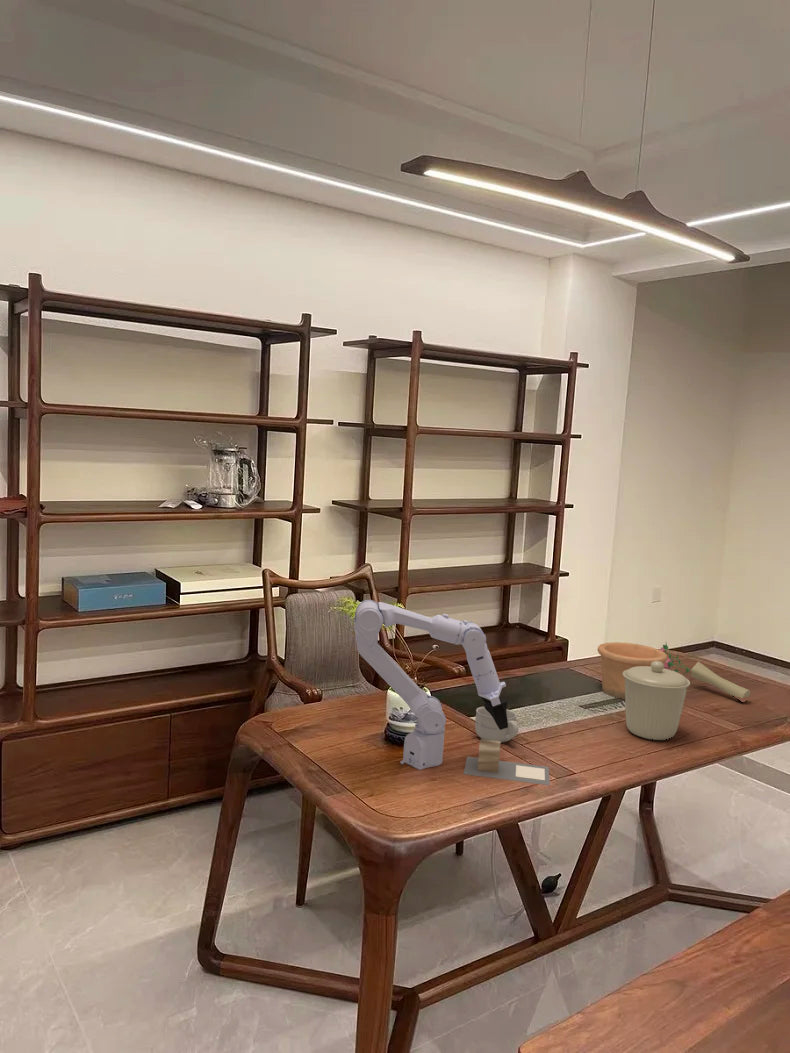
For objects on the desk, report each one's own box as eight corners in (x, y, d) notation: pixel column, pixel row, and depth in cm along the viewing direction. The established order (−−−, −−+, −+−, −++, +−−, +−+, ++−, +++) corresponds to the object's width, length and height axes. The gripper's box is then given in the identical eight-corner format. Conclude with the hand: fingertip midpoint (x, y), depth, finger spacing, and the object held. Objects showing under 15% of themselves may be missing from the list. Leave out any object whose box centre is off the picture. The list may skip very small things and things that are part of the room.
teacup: (467, 734, 218) (469, 705, 217) (502, 731, 222) (504, 703, 221) (491, 754, 205) (493, 724, 204) (528, 751, 209) (530, 721, 208)
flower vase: (731, 725, 263) (643, 674, 288) (752, 709, 269) (664, 661, 294) (736, 696, 257) (646, 647, 283) (758, 681, 264) (668, 634, 289)
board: (463, 777, 189) (463, 773, 189) (466, 760, 200) (467, 755, 200) (549, 789, 186) (549, 784, 186) (548, 770, 197) (549, 766, 197)
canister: (648, 749, 216) (656, 672, 213) (604, 725, 232) (610, 654, 230) (698, 742, 223) (706, 668, 221) (652, 720, 240) (659, 651, 237)
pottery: (615, 704, 252) (619, 660, 251) (582, 683, 274) (586, 641, 272) (676, 703, 257) (680, 659, 256) (640, 682, 279) (644, 642, 277)
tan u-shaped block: (497, 773, 191) (499, 748, 190) (477, 770, 192) (479, 746, 191) (498, 765, 196) (500, 741, 195) (478, 762, 196) (480, 739, 196)
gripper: (504, 674, 187) (522, 727, 189) (494, 657, 201) (510, 706, 203) (476, 684, 187) (494, 737, 189) (467, 666, 201) (484, 716, 203)
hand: (501, 722), depth 196 cm, fingers open, 7 cm apart
